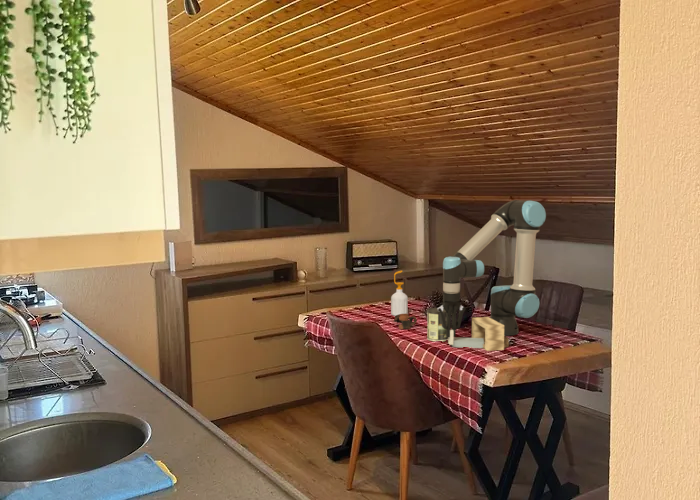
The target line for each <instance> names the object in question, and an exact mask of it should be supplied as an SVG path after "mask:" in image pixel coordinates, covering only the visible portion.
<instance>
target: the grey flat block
mask: <svg viewBox="0 0 700 500" xmlns="http://www.w3.org/2000/svg"><path fill="white" fill-rule="evenodd" d="M483 344H485V343H484V340H483V338H472V337H461V336H460V337H457V336H455V337H453V345H451V348H463V347H469V348H468V349H470V348H471V347H472V348H471V349H483Z"/></svg>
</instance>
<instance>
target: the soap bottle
mask: <svg viewBox="0 0 700 500" xmlns="http://www.w3.org/2000/svg"><path fill="white" fill-rule="evenodd" d="M401 273H403V270H399V271H396V272H394V274H393V282H394V284H395V285H396V286H397V287H396V291H395V292H394V293H393V294H392V295H391V296H390V315H392V316H394V317H395V316H396V315H399V314H409V311H408V310H409V309H408V308H409V307H408V303H409V301H408V300H409V299H408V298H409V297H408V295H407V294H406V293H405V292H403V287H402V285H404V281H401V282H399V281H397V282H396V275H397V274H401Z"/></svg>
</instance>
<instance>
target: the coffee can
mask: <svg viewBox="0 0 700 500" xmlns="http://www.w3.org/2000/svg"><path fill="white" fill-rule="evenodd" d="M437 308H438V307H429V308H427V309H426V313H427V318H426V319H427V323H426V325H427V326H426V328H427V331H426V332H427V335H426V336H427V337H426V340H428V341H431V342H436V341H442V342H447V341H446V340H448V337H447V336H446V329H444V328H443V327H442V323H441V319H440V314H439V312H438V310H437ZM443 314H444V318H445V323H446V311H445V310H444V308H443Z"/></svg>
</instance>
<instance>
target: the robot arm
mask: <svg viewBox="0 0 700 500" xmlns="http://www.w3.org/2000/svg"><path fill="white" fill-rule="evenodd" d="M546 218H547V213H546V209H545V208H544V206H543V205H542V204H541V203H540V202H538V201H536V200H535V201H534V200H520V199H515V200H510V201H508V202H506V203H504V204H503V205H501V206H500V207H499V208H498V209H497V210H495V212H494V213H493V214H492V215H491V216H490V219H489V221H488V222H487V223H485V225H483V226H482V228H480V229H479V230H478V231H477V232H476V233H475V234H474V235H473V236H472V237H471V238H470V239H469V240H468V241H467V242H466V243H465V244H464V245H463V246H462V247H461V248H460V249H459V250H457V252H456V253H455V254H454V255H452V256H450V255H449V256H446V257H445V258H443V261H442V269H443V270H442V291H443V293H442V303H441V305H440V306H439V307H436V308H437V310H438V312H439V314H440V319H441V323H442V327H443V328H444V329H446V336H447V337H448V341H447V344H449V345H450V346H452V345H453V337H456V331H457V330H458V329H460V328H461V323H462V319H463V315H464V313H465V311H466V307H465V306H463V305H462V303H461V293H460V291H461V279H463V278H478V277H481V276H483V275H484V273H485V264H484V262H483V261H482V260H481V259H479V260H478V259H475V258H476V256H478V255H479V254H480V253H481V252H482V251H483V250H484V249H485V248H486V247H487V246H488V245H489V244H490V243H491V242H492V241H494V240H495V238H496V237H497V236H498V235H499V234H500V233H502V231H506V230H508V229H509V228H510V227H511V226H513V231H515V233H516V238H515V239H516V240H515V241H516V243H515V256H514V271H513V282H512V284H511V285H497V286H496V285H495V286H493V287H492V288H491V289H490V317H489V318H491V319H493V320H495V321H497V322H499V323H501V324H503V325H504V336H505V337H509V336H510V337H511V336H515V335H518V334H519V325H518V322H517V319H516V317H518V318H523V319H525V318H526V319H528V318H531V317H533V316H534V315H535V314H536V313H537V312H538V311H539V308H540V304H541V303H540V298H539V297H538V295H537V294H536V288H535V286H534V285H533V277H534V264H535V253H536V251H535V250H536V237H537V233H539V232H540V230H541V229H540V227H541V226H543V225H544V223H545V221H546ZM443 308H444V310H445V311H446V323H445V318H444V314H443ZM457 313H458V314H457Z"/></svg>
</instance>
